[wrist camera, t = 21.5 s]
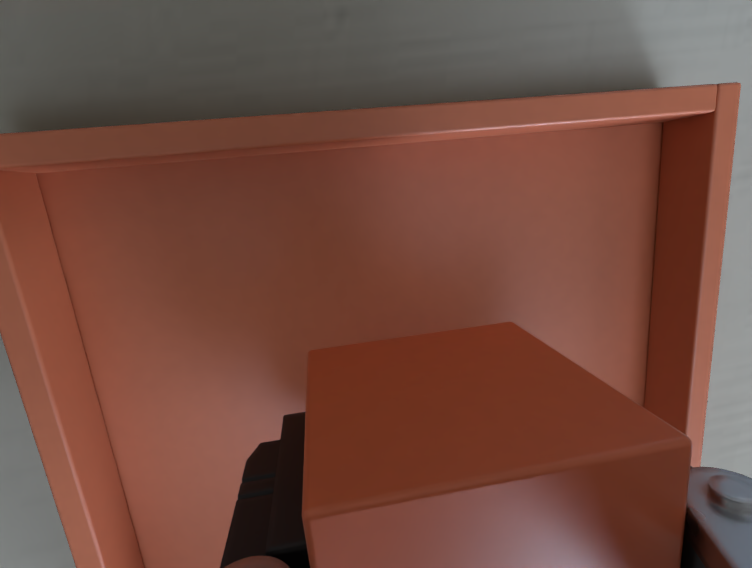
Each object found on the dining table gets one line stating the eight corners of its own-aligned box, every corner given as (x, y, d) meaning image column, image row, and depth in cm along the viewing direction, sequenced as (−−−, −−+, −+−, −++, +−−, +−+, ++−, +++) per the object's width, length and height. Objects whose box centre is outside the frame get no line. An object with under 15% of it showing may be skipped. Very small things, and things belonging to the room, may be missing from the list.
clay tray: (155, 636, 12) (124, 723, 10) (18, 149, 9) (-65, 137, 7) (636, 530, 14) (689, 585, 12) (665, 101, 11) (742, 81, 9)
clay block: (332, 529, 10) (348, 813, 5) (306, 348, 9) (300, 515, 4) (515, 493, 10) (668, 721, 6) (512, 319, 9) (697, 438, 5)
